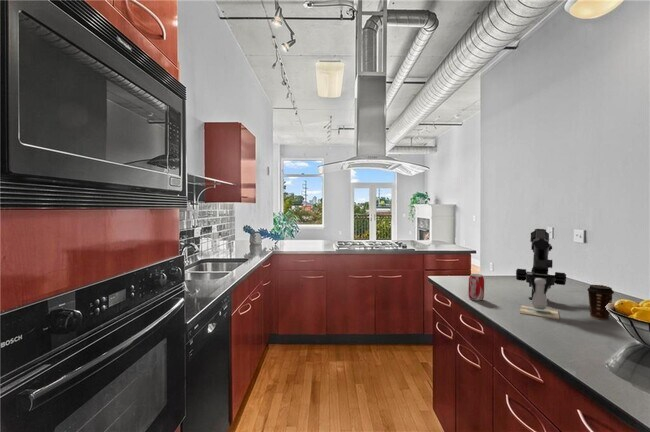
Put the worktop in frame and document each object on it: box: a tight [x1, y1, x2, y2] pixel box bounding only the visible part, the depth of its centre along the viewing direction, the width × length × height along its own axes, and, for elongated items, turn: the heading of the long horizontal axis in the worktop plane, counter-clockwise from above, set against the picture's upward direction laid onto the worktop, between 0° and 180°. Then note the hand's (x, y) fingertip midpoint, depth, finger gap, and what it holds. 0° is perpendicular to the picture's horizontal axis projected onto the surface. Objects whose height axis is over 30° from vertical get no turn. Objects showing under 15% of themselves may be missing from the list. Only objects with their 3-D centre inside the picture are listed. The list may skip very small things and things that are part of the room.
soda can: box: [467, 273, 485, 302], centre depth 171 cm, size 7×7×12 cm
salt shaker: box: [531, 278, 548, 310], centre depth 152 cm, size 6×6×13 cm
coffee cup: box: [587, 284, 615, 320], centre depth 146 cm, size 9×8×13 cm
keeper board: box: [519, 304, 560, 320], centre depth 152 cm, size 14×14×1 cm
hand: (539, 292), depth 151 cm, fingers closed on salt shaker, 3 cm apart
